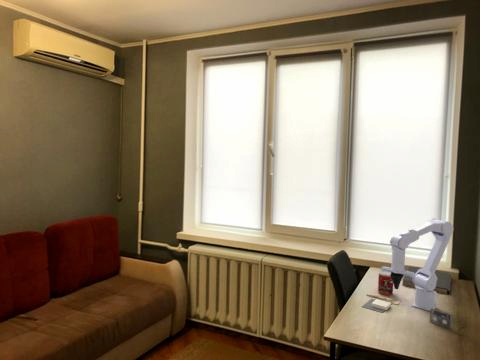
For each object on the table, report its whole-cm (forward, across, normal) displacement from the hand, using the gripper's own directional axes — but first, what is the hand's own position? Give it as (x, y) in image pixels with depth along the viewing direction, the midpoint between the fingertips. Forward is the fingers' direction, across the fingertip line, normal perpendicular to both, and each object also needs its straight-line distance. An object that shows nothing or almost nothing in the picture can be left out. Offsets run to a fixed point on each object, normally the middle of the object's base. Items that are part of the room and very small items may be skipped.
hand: (396, 288), depth 178 cm
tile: (+9, -3, -1) cm, 10 cm away
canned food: (+11, -11, +20) cm, 25 cm away
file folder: (+11, +3, +57) cm, 58 cm away
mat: (+10, -8, -1) cm, 13 cm away
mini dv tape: (+11, +20, -4) cm, 23 cm away
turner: (+10, -8, +9) cm, 16 cm away
